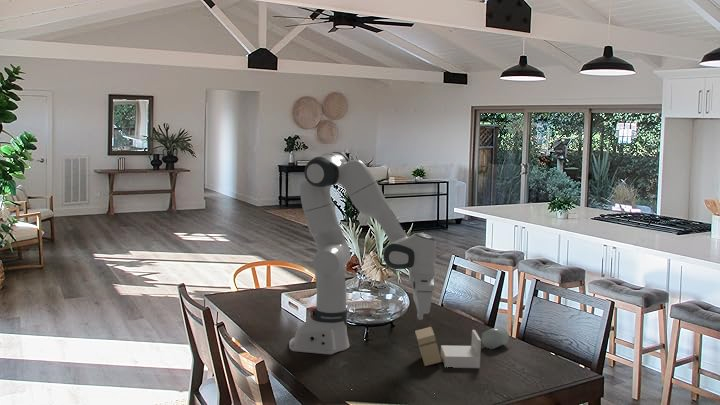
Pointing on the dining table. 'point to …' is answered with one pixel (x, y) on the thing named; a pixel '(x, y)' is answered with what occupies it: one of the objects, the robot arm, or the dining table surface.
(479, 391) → the dining table surface
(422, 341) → the carton
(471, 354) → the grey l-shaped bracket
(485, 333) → the grey rounded stone
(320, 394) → the dining table surface
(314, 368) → the dining table surface
